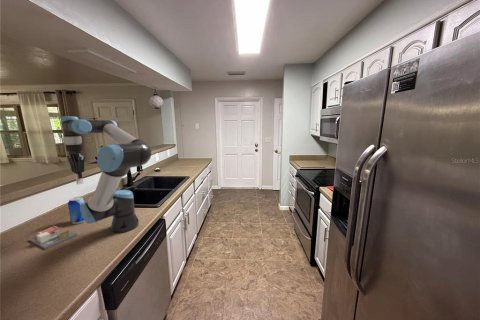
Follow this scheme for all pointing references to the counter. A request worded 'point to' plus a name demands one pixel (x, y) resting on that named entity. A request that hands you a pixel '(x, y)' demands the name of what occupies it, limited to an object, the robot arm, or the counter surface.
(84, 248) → the counter surface
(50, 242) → the panel
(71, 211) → the beer can
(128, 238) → the counter surface
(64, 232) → the brass slider
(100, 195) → the robot arm
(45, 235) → the ivory slider
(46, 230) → the block
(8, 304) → the counter surface
